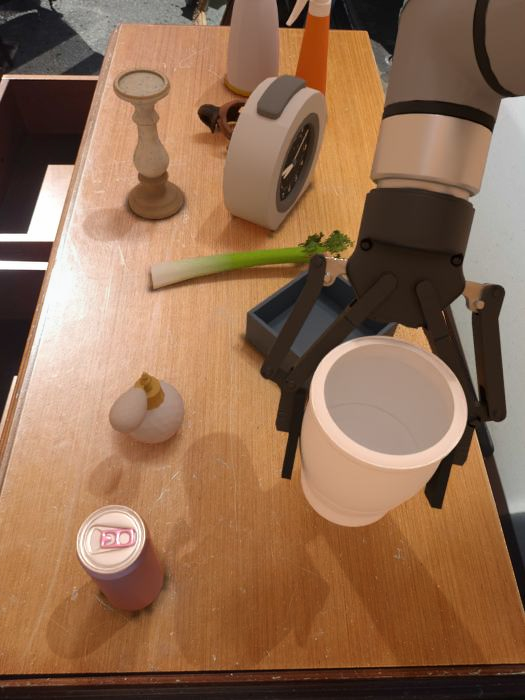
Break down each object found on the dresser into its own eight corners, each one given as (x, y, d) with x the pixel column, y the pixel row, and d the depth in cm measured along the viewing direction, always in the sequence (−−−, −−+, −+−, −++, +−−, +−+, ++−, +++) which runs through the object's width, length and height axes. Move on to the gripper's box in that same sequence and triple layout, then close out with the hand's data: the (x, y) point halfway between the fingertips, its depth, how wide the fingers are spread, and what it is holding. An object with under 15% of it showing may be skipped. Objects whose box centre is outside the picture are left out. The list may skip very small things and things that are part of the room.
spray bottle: (265, 121, 106) (275, -37, 84) (305, 102, 110) (325, -53, 89) (291, 139, 103) (308, -20, 82) (331, 118, 108) (358, -37, 86)
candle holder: (124, 188, 93) (103, 68, 76) (176, 180, 94) (166, 61, 78) (134, 224, 88) (113, 103, 71) (189, 214, 90) (181, 95, 73)
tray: (390, 344, 77) (400, 319, 73) (321, 404, 71) (328, 381, 66) (315, 286, 82) (320, 259, 78) (245, 337, 76) (246, 312, 72)
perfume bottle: (186, 396, 71) (179, 341, 61) (186, 469, 65) (179, 420, 55) (126, 399, 70) (109, 343, 60) (121, 472, 64) (102, 424, 54)
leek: (153, 271, 85) (345, 243, 87) (157, 310, 82) (356, 279, 84) (145, 246, 79) (350, 217, 82) (150, 287, 76) (362, 255, 79)
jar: (387, 422, 53) (436, 326, 41) (424, 529, 47) (493, 455, 35) (278, 437, 52) (295, 342, 39) (302, 550, 46) (331, 480, 34)
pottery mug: (260, 124, 106) (271, 101, 98) (250, 170, 104) (262, 150, 97) (198, 104, 103) (205, 79, 95) (188, 151, 102) (194, 129, 94)
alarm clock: (263, 246, 87) (272, 133, 70) (221, 229, 88) (221, 114, 72) (318, 171, 98) (337, 59, 82) (280, 158, 100) (291, 45, 83)
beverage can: (163, 610, 56) (146, 573, 44) (102, 614, 56) (68, 578, 43) (164, 549, 60) (149, 500, 47) (108, 552, 59) (77, 503, 47)
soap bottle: (285, 73, 116) (298, -78, 95) (273, 103, 110) (285, -52, 88) (232, 64, 117) (234, -88, 96) (217, 93, 110) (216, -63, 89)
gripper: (564, 224, 42) (494, 495, 46) (264, 175, 43) (220, 442, 47) (618, 217, 35) (529, 540, 38) (254, 158, 36) (203, 476, 40)
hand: (358, 486), depth 43 cm, fingers closed on jar, 11 cm apart
